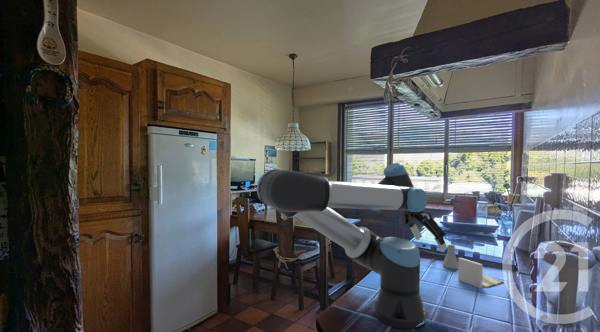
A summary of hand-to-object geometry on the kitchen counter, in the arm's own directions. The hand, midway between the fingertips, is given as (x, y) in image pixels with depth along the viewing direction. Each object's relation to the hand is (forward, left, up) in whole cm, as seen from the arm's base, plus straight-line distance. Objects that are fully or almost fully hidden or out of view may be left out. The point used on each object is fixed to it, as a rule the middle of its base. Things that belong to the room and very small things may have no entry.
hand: (431, 243), depth 114 cm
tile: (+15, -6, -16) cm, 23 cm away
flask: (+25, +10, -16) cm, 31 cm away
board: (+22, -6, -16) cm, 28 cm away
